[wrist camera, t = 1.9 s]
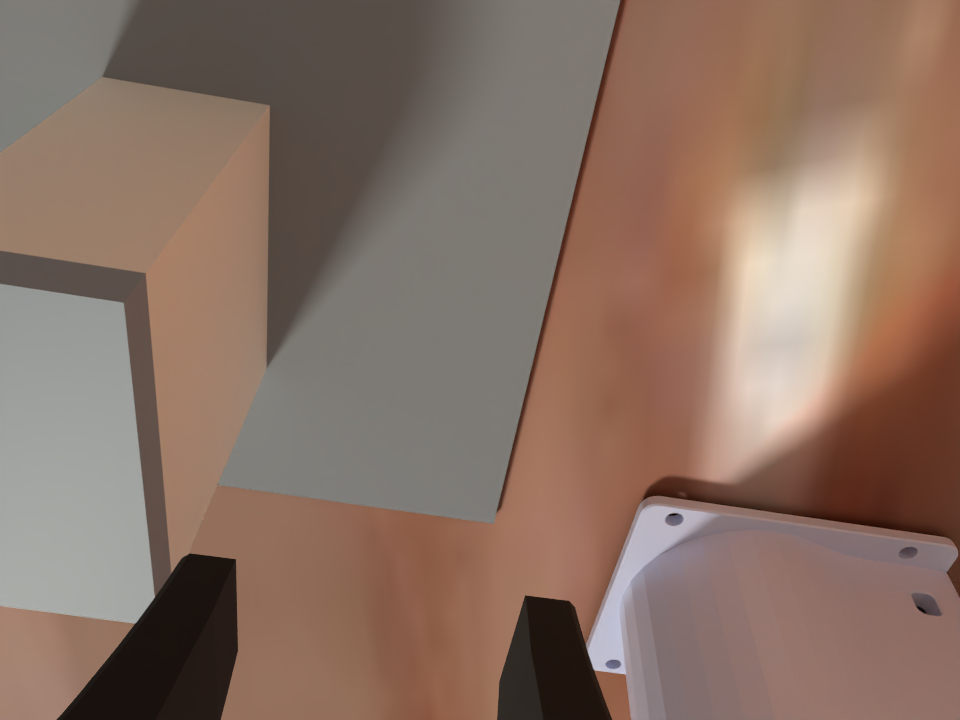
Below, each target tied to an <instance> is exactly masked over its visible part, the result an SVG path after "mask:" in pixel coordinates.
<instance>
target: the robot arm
mask: <svg viewBox="0 0 960 720" xmlns="http://www.w3.org/2000/svg"><path fill="white" fill-rule="evenodd" d="M672 513H678V514H677V515H675V516H668V515H669V514H672ZM906 547H907V548H906ZM903 548H904V549H903ZM957 557H958V550H957V548H956V546H955V544H954V542H953V541H952V540H951V539H949V538H946V537H940V536H933V535H927V534H920V533H913V532H906V531H899V530H892V529H885V528H878V527H871V526H864V525H857V524H850V523H843V522H837V521H830V520H823V519H816V518H809V517H802V516H795V515H788V514H781V513H774V512H767V511H760V510H754V509H747V508H740V507H733V506H726V505H719V504H712V503H705V502H698V501H691V500H684V499H677V498H670V497H664V496H652V497H649V498H646V499H645V500H643V501H642V502H641V504H640V505H639V507H638V510H637V512H636V515H635V517H634V520H633V523H632V525H631V528H630V531H629V533H628V536H627V538H626V541H625V544H624V546H623V549H622V552H621V554H620V557H619V559H618V562H617V565H616V567H615V570H614V573H613V575H612V578H611V580H610V583H609V586H608V588H607V591H606V594H605V596H604V599H603V601H602V604H601V607H600V609H599V612H598V615H597V617H596V620H595V622H594V625H593V628H592V630H591V633H590V636H589V638H588V641H587V643H586V644H585V641H584V638H583V635H582V631H581V628H580V624H579V621H578V617H577V613H576V610H575V607H574V606H573V605H572V604H571V603H570V601H564V600H556V599H548V598H540V597H532V596H525V598H524V602H523V605H522V608H521V612H520V615H519V618H518V622H517V625H516V628H515V632H514V635H513V638H512V642H511V645H510V648H509V652H508V655H507V658H506V662H505V665H504V668H503V672H502V675H501V678H500V683H499V700H498V717H497V720H612V718H611V716H610V713H609V710H608V708H607V705H606V702H605V700H604V697H603V694H602V691H601V689H600V686H599V683H598V680H597V677H596V675H595V672H594V670H597V671H605V672H612V673H620V674H626V680H627V688H628V697H629V705H630V714H631V720H960V597H959V595H958V593H957V592H956V590H955V588H954V586H953V584H952V582H951V580H950V578H949V576H948V575H947V571H948V570H949V568H950V567H951V566H952V564H953V563H954V562H955V560H956V559H957ZM237 652H238V637H237V592H236V559H229V558H221V557H213V556H205V555H197V554H188V555H186V556H184V557H183V558H181V560H180V561H179V563H178V564H177V566H176V567H175V569H174V570H173V572H172V573H171V575H170V576H169V578H168V579H167V581H166V582H165V584H164V585H163V586H162V588H161V589H160V591H159V592H158V594H157V595H156V596H155V598H154V599H153V601H152V602H151V603H150V605H149V606H148V608H147V609H146V610H145V612H144V613H143V614H142V616H141V617H140V618H139V620H138V621H137V622H136V624H135V625H134V626H133V627H132V629H131V630H130V631H129V633H128V634H127V635H126V637H125V638H124V639H123V640H122V642H121V643H120V644H119V646H118V647H117V648H116V649H115V651H114V652H113V653H112V654H111V656H110V657H109V658H108V659H107V660H106V662H105V663H104V664H103V665H102V667H101V668H100V669H99V670H98V671H97V673H96V674H95V675H94V676H93V678H92V679H91V680H90V681H89V682H88V684H87V685H86V686H85V687H84V689H83V690H82V691H81V692H80V693H79V695H78V696H77V697H76V698H75V699H74V701H73V702H72V703H71V704H70V705H69V706H68V708H67V709H66V710H65V711H64V712H63V713H62V714H61V715H60V717H59V718H58V719H57V720H221V716H222V712H223V708H224V704H225V700H226V696H227V693H228V689H229V684H230V680H231V676H232V672H233V668H234V664H235V660H236V656H237Z"/></svg>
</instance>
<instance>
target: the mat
mask: <svg viewBox="0 0 960 720" xmlns="http://www.w3.org/2000/svg"><path fill="white" fill-rule="evenodd" d="M619 4H620V0H0V152H2V151H3V150H4V149H6V148H7V147H8V146H10V145H11V144H13V143H14V142H15V141H17V140H18V139H19V138H21V137H22V136H23V135H25V134H26V133H27V132H29V131H30V130H31V129H33V128H34V127H35V126H37V125H38V124H39V123H41V122H42V121H44V120H45V119H46V118H48V117H49V116H50V115H52V114H53V113H54V112H56V111H57V110H58V109H60V108H61V107H62V106H64V105H65V104H66V103H68V102H69V101H70V100H72V99H73V98H75V97H76V96H77V95H79V94H80V93H81V92H83V91H84V90H85V89H87V88H88V87H89V86H91V85H92V84H93V83H95V82H96V81H97V80H99V79H100V78H102V77H105V78H111V79H117V80H123V81H129V82H135V83H141V84H147V85H153V86H159V87H164V88H170V89H176V90H182V91H188V92H194V93H200V94H206V95H212V96H218V97H224V98H230V99H236V100H242V101H248V102H254V103H259V104H265V105H270V132H269V213H268V293H267V369H266V371H265V373H264V376H263V378H262V381H261V383H260V385H259V388H258V390H257V392H256V395H255V397H254V400H253V402H252V404H251V407H250V409H249V411H248V414H247V416H246V419H245V421H244V423H243V426H242V428H241V430H240V433H239V435H238V438H237V440H236V442H235V445H234V447H233V449H232V452H231V454H230V457H229V459H228V461H227V464H226V466H225V468H224V471H223V473H222V475H221V478H220V480H219V483H218V485H222V486H229V487H236V488H243V489H251V490H258V491H265V492H272V493H279V494H286V495H293V496H300V497H307V498H314V499H322V500H329V501H336V502H343V503H350V504H357V505H364V506H371V507H378V508H386V509H393V510H400V511H407V512H414V513H421V514H428V515H435V516H442V517H449V518H457V519H464V520H471V521H478V522H485V523H492V524H494V520H495V516H496V512H497V508H498V504H499V500H500V496H501V491H502V487H503V483H504V479H505V475H506V471H507V467H508V462H509V458H510V454H511V450H512V446H513V442H514V438H515V434H516V429H517V425H518V421H519V417H520V413H521V409H522V405H523V400H524V396H525V392H526V388H527V384H528V380H529V376H530V372H531V367H532V363H533V359H534V355H535V351H536V347H537V343H538V338H539V334H540V330H541V326H542V322H543V318H544V314H545V310H546V305H547V301H548V297H549V293H550V289H551V285H552V281H553V276H554V272H555V268H556V264H557V260H558V256H559V252H560V248H561V243H562V239H563V235H564V231H565V227H566V223H567V219H568V214H569V210H570V206H571V202H572V198H573V194H574V190H575V186H576V181H577V177H578V173H579V169H580V165H581V161H582V157H583V152H584V148H585V144H586V140H587V136H588V132H589V128H590V124H591V119H592V115H593V111H594V107H595V103H596V99H597V95H598V90H599V86H600V82H601V78H602V74H603V70H604V66H605V62H606V57H607V53H608V49H609V45H610V41H611V37H612V33H613V28H614V24H615V20H616V16H617V12H618V8H619Z"/></svg>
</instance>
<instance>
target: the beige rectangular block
mask: <svg viewBox="0 0 960 720" xmlns="http://www.w3.org/2000/svg"><path fill="white" fill-rule="evenodd" d="M269 132H270V105H265V104H259V103H254V102H248V101H242V100H236V99H230V98H224V97H218V96H212V95H206V94H200V93H194V92H188V91H182V90H176V89H170V88H164V87H159V86H153V85H147V84H141V83H135V82H129V81H123V80H117V79H111V78H105V77H102V78H100V79H99V80H97V81H96V82H95V83H93V84H92V85H91V86H89V87H88V88H87V89H85V90H84V91H83V92H81V93H80V94H79V95H77V96H76V97H75V98H73V99H72V100H70V101H69V102H68V103H66V104H65V105H64V106H62V107H61V108H60V109H58V110H57V111H56V112H54V113H53V114H52V115H50V116H49V117H48V118H46V119H45V120H44V121H42V122H41V123H39V124H38V125H37V126H35V127H34V128H33V129H31V130H30V131H29V132H27V133H26V134H25V135H23V136H22V137H21V138H19V139H18V140H17V141H15V142H14V143H13V144H11V145H10V146H8V147H7V148H6V149H4V150H3V151H2V152H0V606H5V607H12V608H20V609H28V610H35V611H43V612H51V613H58V614H66V615H74V616H81V617H89V618H97V619H105V620H112V621H120V622H128V623H135V624H136V622H137V621H138V620H139V618H140V617H141V616H142V614H143V613H144V612H145V610H146V609H147V608H148V606H149V605H150V603H151V602H152V601H153V599H154V598H155V596H156V595H157V594H158V592H159V591H160V589H161V588H162V586H163V585H164V584H165V582H166V581H167V579H168V578H169V576H170V575H171V573H172V572H173V570H174V569H175V567H176V566H177V564H178V563H179V561H180V560H181V558H183V557H184V556H186V555H188V554H189V551H190V549H191V547H192V544H193V542H194V540H195V537H196V535H197V532H198V530H199V528H200V525H201V523H202V521H203V518H204V516H205V513H206V511H207V509H208V506H209V504H210V502H211V499H212V497H213V494H214V492H215V490H216V487H217V485H218V483H219V480H220V478H221V475H222V473H223V471H224V468H225V466H226V464H227V461H228V459H229V457H230V454H231V452H232V449H233V447H234V445H235V442H236V440H237V438H238V435H239V433H240V430H241V428H242V426H243V423H244V421H245V419H246V416H247V414H248V411H249V409H250V407H251V404H252V402H253V400H254V397H255V395H256V392H257V390H258V388H259V385H260V383H261V381H262V378H263V376H264V373H265V371H266V369H267V293H268V213H269Z"/></svg>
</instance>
